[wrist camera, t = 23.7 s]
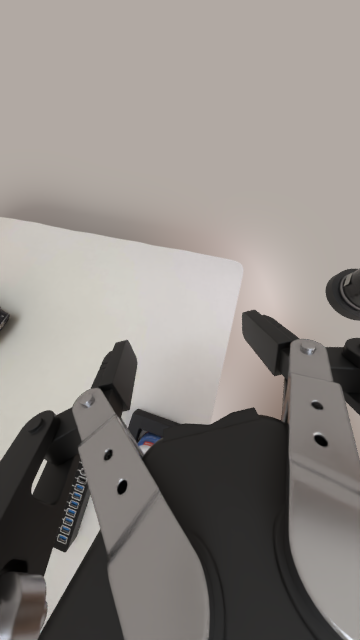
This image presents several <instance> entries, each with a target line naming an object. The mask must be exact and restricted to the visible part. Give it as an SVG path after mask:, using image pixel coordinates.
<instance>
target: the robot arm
mask: <svg viewBox="0 0 360 640" xmlns="http://www.w3.org/2000/svg"><path fill="white" fill-rule="evenodd" d="M338 291H339V294H340V297H341V298H342V300H343V301H344V302H345V303H346V304H347V305H348V306H349V307H351V308H353V309H355V310H357V311H360V269H358V270H356V271H355V272H353V273H350V274H348V275H347V276H345V277H343V278H342V279H341V281H340V283H339V286H338ZM242 331H243V336H244V338H245V340H246V341H247V343H248V344H249V345H250V346H251V347H252V349H253V350H254V351H255V353H256V354H257V355H258V356H259V357H260V359H261V360H262V361H263V363H264V364H265V365H266V366H267V367H268V369H269V370H270V371H271V373H272V374H273V375H274V376H277V375H281V374H282V375H283V376H284V377H285V379H284V391H283V407H282V416H281V420H278V419H276V418H273V417H269V416H264V415H258V414H257V412H256V410H255V408H250V409H245V410H241V411H237V412H233V413H230V414H229V415H227V416H225V417H223V418H222V419H220V420H218V421H216V422H214V423H213V424H210V425H203V424H182V425H177V426H173V427H169V428H165V429H163V437H162V438H161V439H159V440H158V441H157V442H155V443H154V444H153V445H152V446H151V447H150V448H149V449H148V450H147V451H146V453H145V454H144V453H143V451H142V450H141V448H140V447H139V445H138V444H137V442H136V441H135V439H134V437H133V436H132V434H131V433H130V431H129V429H128V428H127V426H126V425H125V423H124V421H123V420H122V418H121V415H122V412H123V411H127V410H130V405H131V399H132V393H133V387H134V381H135V375H136V370H137V358H136V356H135V353H134V351H133V349H132V347H131V345H130V343H129V341H128V340H125V341H121V342H117V343H115V346H114V348H113V351H111V352H109V353H108V354H107V355H106V356H105V358H104V360H103V362H102V365H101V366H100V369H99V371H98V373H97V375H96V378H95V380H94V382H93V384H92V387H91V389H89V390H87V391H86V392H84V393H83V394H81V395H80V396H79V397H78V398H77V400H76V401H75V403H74V404H73V407H72V408H70V409H68V410H66V411H64V412H62V413H60V414H58V415H56V414H55V413H54V412H53V411H50V410H47V411H44V412H41V413H39V414H38V415H36V416H35V417H33V418H32V419H31V420H30V421H28V422H27V423H26V424H25V426H24V427H23V428H22V429H21V431H20V432H19V434H18V435H17V437H16V438H15V440H14V441H13V443H12V444H11V446H10V448H9V449H8V451H7V452H6V454H5V455H4V457H3V458H2V460H1V461H0V640H360V460H359V456H358V452H357V448H356V444H355V439H354V436H353V432H352V428H351V423H350V419H349V416H348V411H347V407H346V403H345V401H346V402H347V403H348V404H349V405H350V406H351V407H352V408H353V409H354V410H355V411H356V412H357V413H358V414H359V415H360V338H352V339H349V340H347V341H346V343H345V345H344V347H324V346H323V345H322V344H320V343H318V342H316V341H313V340H309V339H299V338H298V337H297V336H296V335H294V334H293V333H291V332H290V331H289V330H288V329H286V328H285V327H283V326H282V325H281V324H279V323H278V322H277V321H276V320H274V319H273V318H271V317H269V316H266V315H261V314H260V313H258V312H257V311H256V310H251V311H247V312H243V313H242ZM80 458H81V461H82V465H83V468H84V472H85V475H86V479H87V483H88V486H89V490H90V493H91V497H92V500H93V504H94V507H95V511H96V514H97V518H98V521H99V525H100V531H99V533H98V534H97V536H96V538H95V540H94V541H93V543H92V545H91V547H90V548H89V550H88V552H87V553H86V555H85V557H84V559H83V560H82V562H81V564H80V566H79V567H78V569H77V571H76V573H75V574H74V576H73V578H72V580H71V581H70V583H69V585H68V586H67V588H66V590H65V592H64V593H63V595H62V597H61V599H60V600H59V602H58V604H57V606H56V607H55V609H54V611H53V613H52V614H51V616H50V618H49V620H48V621H47V623H46V625H45V626H44V628H43V630H42V632H41V634H40V630H41V628H42V626H43V624H44V621H45V618H46V615H47V602H46V601H45V599H46V583H45V579H44V574H45V571H46V568H47V565H48V561H49V558H50V555H51V552H52V549H53V545H54V542H55V539H56V536H57V532H58V529H59V526H60V523H61V519H62V516H63V513H64V510H65V506H66V503H67V500H68V497H69V493H70V490H71V487H72V484H73V481H74V477H75V474H76V471H77V468H78V464H79V461H80ZM43 459H45V460H47V463H46V466H45V468H44V470H43V472H42V475H41V477H40V479H39V481H38V483H37V486H36V488H35V490H34V492H33V495H32V494H31V487H32V483H33V481H34V479H35V476H36V474H37V472H38V470H39V468H40V466H41V464H42V462H43Z"/></svg>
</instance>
